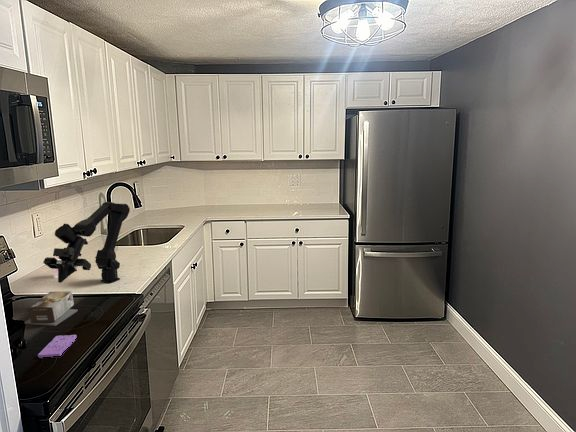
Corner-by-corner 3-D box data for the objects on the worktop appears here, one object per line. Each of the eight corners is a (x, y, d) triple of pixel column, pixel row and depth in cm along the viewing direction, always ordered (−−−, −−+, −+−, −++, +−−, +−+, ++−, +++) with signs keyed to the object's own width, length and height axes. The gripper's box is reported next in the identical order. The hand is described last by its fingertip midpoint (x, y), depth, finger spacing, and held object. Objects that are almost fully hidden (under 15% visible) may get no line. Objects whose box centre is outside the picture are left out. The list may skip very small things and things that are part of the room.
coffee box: (52, 305, 172) (29, 323, 157) (50, 291, 171) (27, 307, 155) (74, 304, 172) (54, 322, 157) (72, 290, 171) (51, 306, 155)
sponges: (77, 339, 147) (76, 334, 146) (60, 358, 134) (59, 353, 134) (56, 340, 146) (56, 335, 146) (38, 359, 134) (37, 354, 133)
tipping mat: (48, 309, 170) (48, 307, 170) (77, 310, 168) (77, 309, 168) (24, 323, 158) (24, 322, 158) (55, 325, 156) (55, 324, 156)
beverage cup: (56, 274, 211) (52, 248, 208) (68, 274, 211) (65, 247, 208) (50, 278, 205) (46, 251, 202) (63, 278, 205) (59, 251, 203)
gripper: (43, 238, 173) (26, 272, 165) (83, 240, 171) (69, 274, 162) (58, 251, 183) (43, 284, 174) (97, 253, 180) (84, 286, 171)
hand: (59, 282), depth 170 cm, fingers closed
